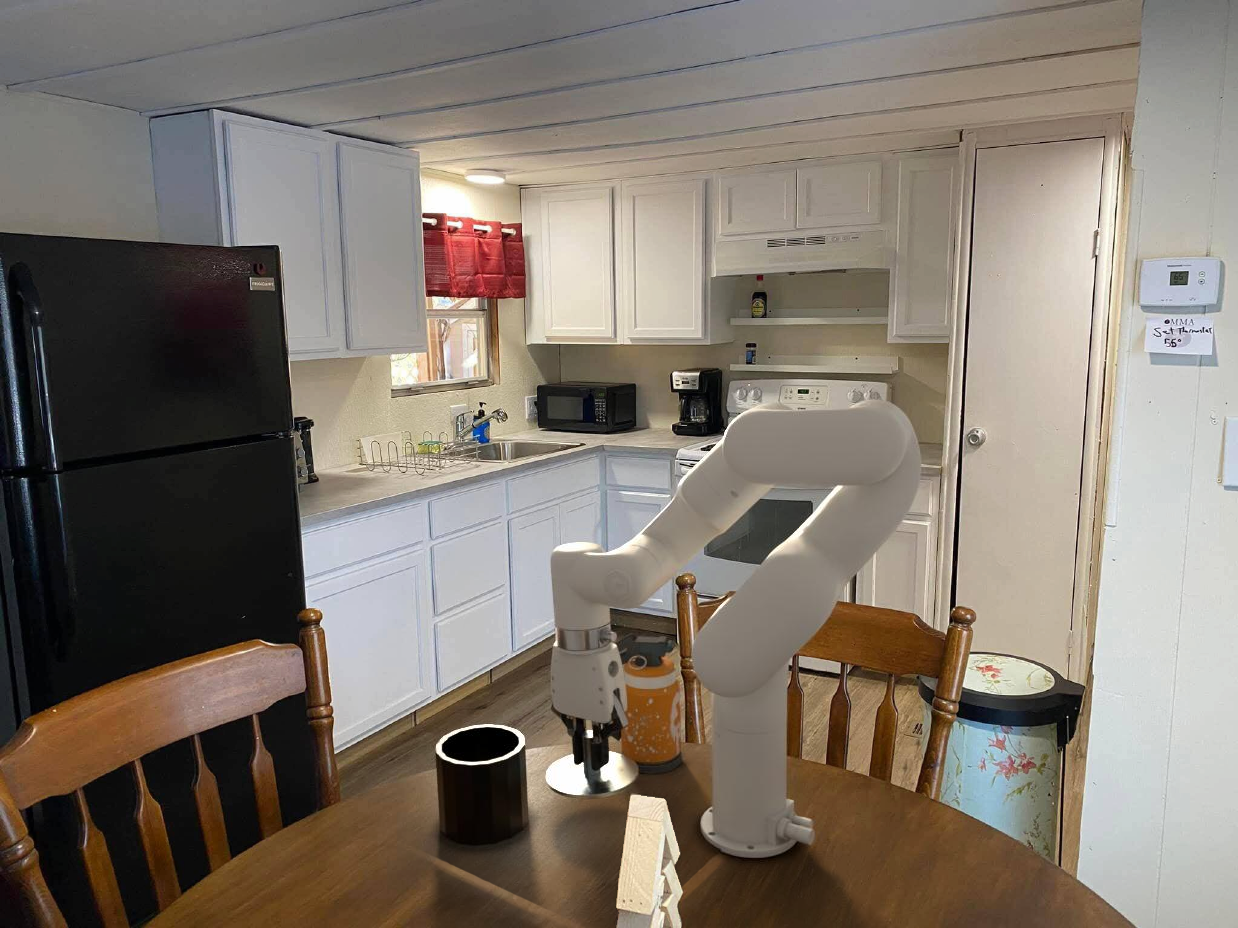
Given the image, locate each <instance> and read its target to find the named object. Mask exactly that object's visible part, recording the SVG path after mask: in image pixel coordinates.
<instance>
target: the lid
mask: <svg viewBox="0 0 1238 928" xmlns="http://www.w3.org/2000/svg"><path fill="white" fill-rule="evenodd" d="M588 730H589V731H585V732H583V733H582V734H581V742H582V757H583V763H582V764H580V765H578V766H577V765H574V760H573V754H570V755H567V756H564V757H562V758H560V759H557V760H556V761H555V762H553V763H552V764H551V765H550V766H549V767H548V769H547V770H546V774H545V782H546V785H547V787H548V788H549V789H550V791H552V792H554V793H555V794H557V795H559V796H562V797H566V798H568V799H569V798H570V799H575V800H576V799H577V800H596V799H602V798H607V797H612V796H615V795H618V794H620V793H623V792H625V791H627V790H628V789H629V788H631V787H632V786H634V785H635V783H636V782H637V781H638V780H639V775H640V772H639V769H638V766H637V764H636V763H635V761H634V760H632V759H631V758H629V757H627V756H625V755H622V753H618V752H615V751H609V763H608V764H606V765H605V766H604V767H602V768H601V769H599V770H598V771H594V770H592V767H591V751H590V744H591V742H593V741H594V740H593V733H592V729H591V730H590V729H588Z"/></svg>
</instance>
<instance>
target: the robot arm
mask: <svg viewBox="0 0 1238 928" xmlns="http://www.w3.org/2000/svg"><path fill="white" fill-rule="evenodd" d="M921 475H922V455H921V448H920V444H919V441H918V437H917V434H916V432H915V429H914V427H913V425H912V422H911V421H910V419H909V417H908V415H907V414H906V413H905V412H904V411H903V410H902V409H901V408H900V407H899V406H897V405H896V404H894V403H893V402H891V401H888V400H884V399H877V398H876V399H865V400H862V401H859V402H856V403H854V404H853V405H851V406H850V407H842V408H841V407H840V408H839V407H838V408H819V409H817V408H815V409H793V408H792V407H790V406H788V405H786V404H783V403H779V402H765V403H762V404H759V405H757V406H754V407H752V408H750V409H747V410H744V411H743V412H742V413H740V414H738V415H737V416H736V417H735V418H734V419H733V420H732V421H731V422H730V423H729V425H728V426H727V428H726V430H725V431H724V435H723V437H722V438H721V440H720V441H719V442H717V444H716V445H715V446H714V447H713V448H711V450H710V451H709V452H708V453H707V454H705V456H703V457H702V459H700V460H699V461H698V462H697V463H696V464H695V465H694V466H693V467H692V468H691V469H690V470H689V471H688V472H687V473H686V474H685V475H684V476H682V478H681V479H680V481H679V483H678V485H677V488H676V492H675V495H674V496H673V498H672V499H671V501H670V502H669V503H668V504H667V505H666V507H665V508H664V509H663V510H661V512H660V513H659V514H658V515H656V517H655V518H654V519H653V520H652V521H650V523H649V524H647V526H646V527H645V528H644V529H643V530H641V531H640V532H639V533H638V534H637V535H636V536H635V537H633V538H632V539H631V540H630V541H628V542H626V543H625V544H623V545H621V546H620V547H619V548H616V549H613V550H611V551H608V552H606V550H605V549H604V547H602V546H601V545H600V544H597V543H594V542H589V541H588V542H587V541H586V542H585V541H580V542H579V541H578V542H570V543H565V544H562V545H559V546H557V547H556V548H554V549H553V550H552V552H551V555H550V575H551V577H550V578H551V591H552V606H553V607H552V608H553V618H554V619H553V621H554V635H555V636H554V637H555V642H554V643H553V646H552V653H551V664H550V693H551V705H550V711H551V712H552V713H553V714H554V715H555V716H556V717H557V718H559V719H560V721H561V722H562V723H563V725H564V726H565V727H566V733H567V735H568V736H569V737H571V743H572V755H573V760H574V765H577V766H578V765H580V764H582V763H583V757H582V742H581V734H582V733H583V732H585V731H589V730H590V729H587V721H589V722H590V723H591V730H592V733H593V740H594V741H593V742H591V744H590V751H591V767H592V770H594V771H598V770H599V769H601V768H602V767H604V766H605V765H606V764H608V763H609V752H610V743H609V738H610V737H612V736H611V735H612V734H613V733H614V732H617V731H620V730H623V729H624V728H626V727H627V726H628V721H627V718H626V716H625V714H624V712H626V711H627V694H626V685H625V678H624V672H623V667H624V665H622V662H621V658H620V652H619V651H618V648H617V645H616V644H615V643H616V642H617V639H618V635H617V633H616V631H615V632H614V631H612V626H611V625H612V623H611V611H610V610H611V609H610V608H611V607H612V608H615V609H622V610H630V609H634V608H638V607H640V606H641V605H643V604H644V603H646V601H648V600H649V599H650V598H651V597H653V595H654V594H655V593H656V592H658V591H659V590H660V589H661V588H662V587H663V586H665V585H666V584H667V583H669V581H670V580H672V578H673V577H675V576H676V575H677V574H678V573H679V571H681V570H682V569H683V568H684V567H685V566H686V565H688V563H689V562H690V561H691V560H692V559H693V558H695V557H696V555H698V554H699V553H700V552H701V551H702V550H703V549H704V548H705V547H706V546H707V545H708V544H709V543H711V541H713V540H714V539H715V538H716V537H718V536H720V535H722V534H724V533H726V532H727V531H728V530H729V529H730V528H731V527H732V526H733V525H734V524H735V523H736V522H737V521H738V520H739V519H740V518H741V517H743V516H744V515H745V514H746V513H747V512H748V511H749V510H750V509H751V508H752V507H753V506H754V505H755V504H756V503H757V502H758V501H759V500H761V498H762V497H763V496H765V495H766V494H767V493H768V492H769V491H770V490H771V489H772V488H774V486H786V487H787V486H791V487H798V486H802V487H803V486H804V487H807V486H808V487H809V486H811V487H812V486H817V487H818V486H819V487H820V486H821V487H822V486H825V487H826V486H828V487H835V486H836V487H835V488H833V490H832V491H831V492H830V493H829V494H828V495H827V496H826V498H825V499H824V500H823V501H822V502H821V503H820V504H819V506H818V507H817V508H816V509H815V511H814V512H813V513H812V514H811V515H810V516H809V517H808V518H807V519H806V520H805V521H804V522H803V523H802V524H801V525H800V526H799V528H797V529H796V530H795V531H794V532H793V533H792V534H791V535H790V536H789V537H788V538H787V539H786V540H784V541H783V542H782V543H780V544H779V545H778V546H776V547H775V548H774V549H773V550H772V551H771V552H770V553H769V554H768V556H767V557H765V559H764V560H763V561H762V562H761V564H760V565H759V566H758V567H757V568H756V570H754V571H753V572H752V574H751V575H750V576H749V577H748V578H747V579H746V580H745V582H743V584H742V585H741V586H740V587H739V588H738V589H737V590H736V591H735V592H734V594H732V596H730V597H729V598H728V599H726V600H725V601H723V602H722V604H720V605H719V606H718V608H717V609H716V610H715V611H714V612H713V613H712V614H711V616H710V617H709V619H707V621H705V623H704V625H703V626H702V627H701V628H700V629H699V631H698V632H697V634H696V636H695V637H694V640H693V643H692V647H691V664H692V668H693V672H694V674H695V676H696V679H697V680H698V681H699V683H700V684H701V685H702V686H703V687H704V688H705V689H706V690H707V691H709V692H710V693H711V697H710V698H711V700H710V701H711V706H710V707H711V711H710V712H711V713H710V714H711V715H710V717H711V718H710V719H711V720H710V721H711V723H710V725H711V727H710V729H711V806H710V807H709V808H708V809H707V810H705V811H704V812H703V814H702V815H701V818H700V832H701V835H702V836H703V837H704V839H705V840H706V841H707V842H708V843H709V844H711V845H713V846H714V847H716V848H717V849H720V850H719V851H720V852H721V853H724V854H727V855H730V856H734V857H738V858H744V859H745V858H748V859H764V858H768V857H769V858H770V857H774V856H777V855H780V854H782V853H785V852H787V851H788V850H790V849H791V848H792V847H794V845H795V844H796V843H797V842H799V843H801V844H804V845H807V846H812V845H813V843H814V840H815V836H816V832H815V830H814V829H813V827H814V820H813V819H811V818H809V817H805V816H800V815H797V813H796V811H795V800H793V799H791V798H788V797H787V791H788V790H787V787H788V786H787V781H788V779H787V778H788V777H787V774H788V773H787V771H788V769H787V768H788V767H787V766H788V765H787V762H788V761H787V760H788V758H787V757H788V754H787V751H788V750H787V749H788V748H787V744H788V743H787V742H788V741H787V740H788V739H787V738H788V732H787V731H788V730H787V729H788V725H787V723H788V685H789V683H788V682H789V670H790V669H789V668H790V667H789V666H790V660H791V659H792V658H793V657H794V656H795V655H796V654H797V653H799V651H800V650H801V649H802V648H803V647H804V646H805V645H806V644H807V643H808V642H809V641H810V640H811V639H812V638H813V637H814V636H815V635H816V634H817V633H818V632H819V631H820V630H821V628H822V627H823V626H824V625H825V623H826V622H827V621H828V619H829V618H830V616H831V615H832V613H833V611H834V610H835V607H836V605H837V603H838V601H839V599H840V597H841V595H842V593H843V591H844V589H845V587H846V586H847V585H848V584H849V582H850V581H851V580H852V579H853V578H854V577H855V576H856V575H857V574H858V573H859V571H861V570H862V569H863V567H865V565H866V564H867V563H868V562H869V561H870V560H871V559H872V558H873V557H874V555H875V554H876V553H877V552H878V551H879V550H880V549H881V547H882V546H883V545H885V543H886V542H887V541H888V540H889V539H890V538H891V537H892V535H893V534H894V533H895V532H896V530H897V529H898V528H899V527H900V525H902V523H903V522H904V521H905V518H906V517H907V515H908V513H909V511H910V510H911V508H912V505H913V503H914V501H915V499H916V496H917V494H918V490H919V485H920V481H921ZM611 715H612V718H613V721H612V722H611Z"/></svg>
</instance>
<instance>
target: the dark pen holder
mask: <svg viewBox="0 0 1238 928" xmlns="http://www.w3.org/2000/svg"><path fill="white" fill-rule="evenodd" d="M434 751H435V769H436V785H437V786H436V787H437V801H438V817H439V819H438V821H439V831H440V832H441V834H442V835H443V836H444V837H445V839H447V840H448V841H451V842H453V843H455V844H458V845H464V846H472V847H481V846H491V845H496V844H498V843H501V842H505V841H509V840H511V839H513V838H514V837H515V836H517V835H518V834H520V833H521V832H523V831H524V830H525V828H526V826H527V824H528V823H529V821H530V819H529V796H528V778H527V777H528V776H527V774H528V773H527V752H526V751H527V750H526V737H525V735H524V734H523V733H521V731H519V730H518V729H515V728H513V727H509V726H506V725H499V724H479V725H478V724H477V725H469V726H467V727H463V728H460V729H456V730H453V731H451V732H449V733H447V734H446V735H443V737H441V738H440V739H439V741H438V742H437V743H436V744H435V750H434Z"/></svg>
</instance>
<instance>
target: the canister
mask: <svg viewBox="0 0 1238 928" xmlns="http://www.w3.org/2000/svg"><path fill="white" fill-rule="evenodd" d="M668 639H669V638H668V637H667V636H638V635H637V634H634V633H633V632H632V633H630V634H628V635H627V636H625V637H623V638H621V639H619V640H618V641H615V642H614V644H616V645H617V648H618V651H619V654H620V658H621V662H622V666H623V672H624V678H625V685H626V694H627V711H626V712H624V714H625V716H626V718H627V721H628V726H627V727H626V728H624V729H623V730H620V731H617V732H614V733H613V734H612V735H611V736H610V737H612V738H613V739H614V740H616V741H617V742H620V744H621V746H620V748H621V754H622V755H625V756H627V757H629V758H631V759H632V760H634V761H635V763H636V764H637V766H638V769H639V774H640V773H642V774H663V773H666V772H670V771H672V770H674V769H676V768H677V767H678V766H680V765H681V762H682V726H681V725H682V722H681V721H682V720H681V682H680V680H679V679H678V678H677V667H676V665H675V663H674V661H673V660H672V659H670V658H669V657H667V656H666V655H667V654H670V653H673V651H674V649H675V646H676V642H675V641H673V640H668ZM624 650H625V651H624ZM622 651H623V652H622ZM612 721H613V718H612V715H611V722H612Z"/></svg>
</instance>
